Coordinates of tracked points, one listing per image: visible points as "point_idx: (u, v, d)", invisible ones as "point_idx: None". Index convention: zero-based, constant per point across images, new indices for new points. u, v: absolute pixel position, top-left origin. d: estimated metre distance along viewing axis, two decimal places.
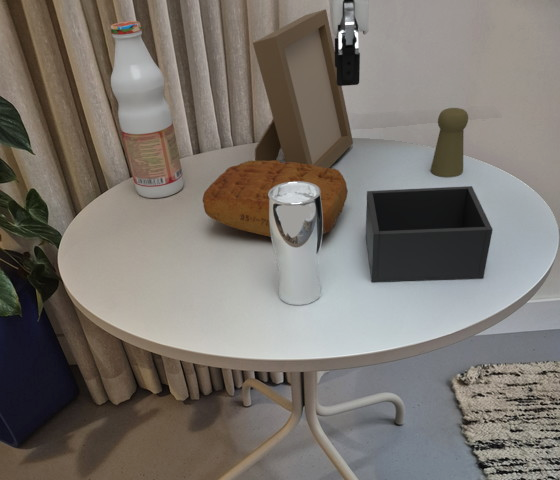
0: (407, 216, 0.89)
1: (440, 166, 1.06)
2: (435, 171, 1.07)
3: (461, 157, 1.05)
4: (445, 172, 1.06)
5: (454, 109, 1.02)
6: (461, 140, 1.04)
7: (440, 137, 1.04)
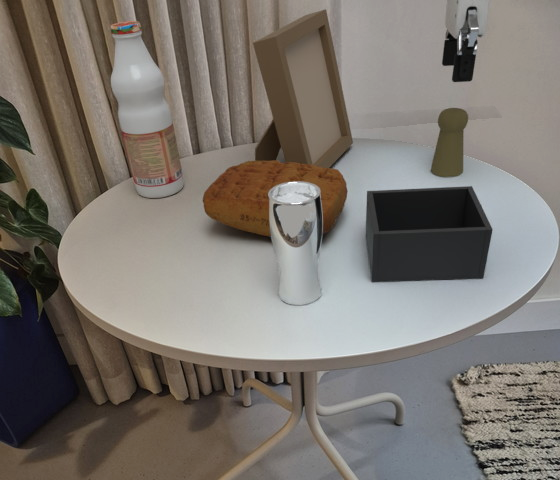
0: (407, 216, 0.89)
1: (440, 166, 1.06)
2: (435, 171, 1.07)
3: (461, 157, 1.05)
4: (445, 172, 1.06)
5: (454, 109, 1.02)
6: (461, 140, 1.04)
7: (440, 137, 1.04)
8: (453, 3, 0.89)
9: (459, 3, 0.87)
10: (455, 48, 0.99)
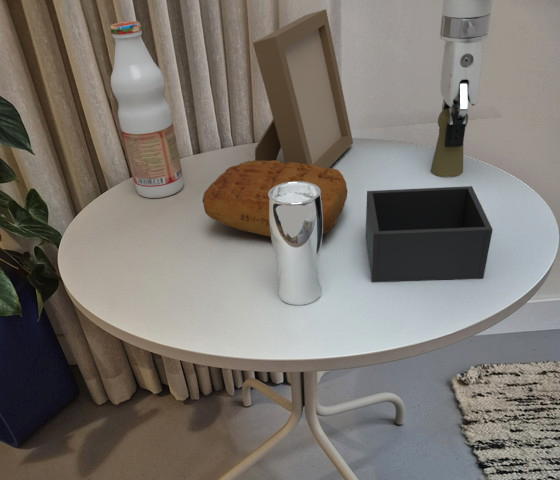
0: (407, 216, 0.89)
1: (440, 166, 1.06)
2: (435, 171, 1.07)
3: (461, 157, 1.05)
4: (445, 172, 1.06)
5: (454, 109, 1.02)
6: None
7: (440, 137, 1.04)
8: (447, 75, 0.96)
9: (452, 76, 0.94)
10: None
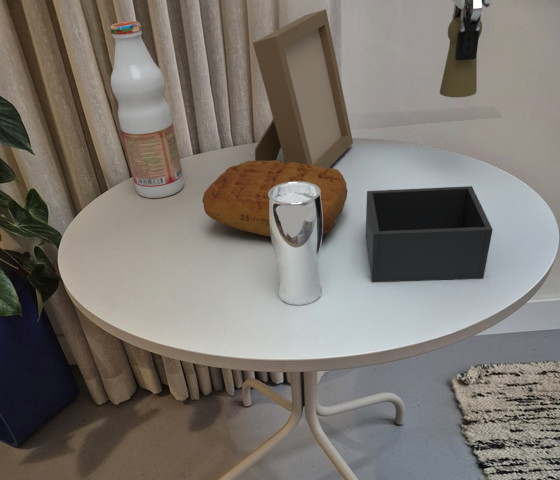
0: (407, 216, 0.89)
1: (451, 84, 0.95)
2: (445, 91, 0.96)
3: (474, 74, 0.94)
4: (456, 91, 0.95)
5: None
6: None
7: (450, 51, 0.93)
8: None
9: None
10: None
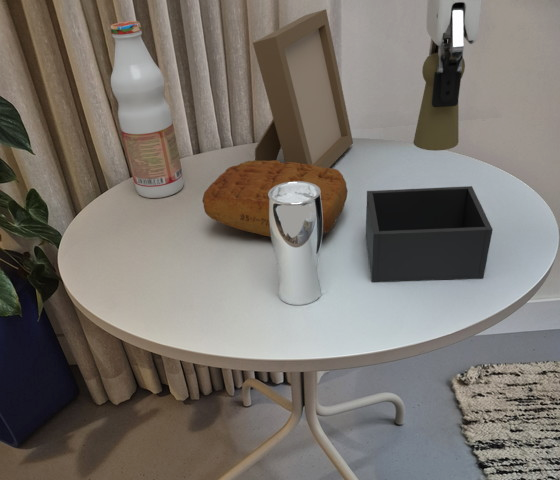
0: (407, 216, 0.89)
1: (427, 135, 0.76)
2: (419, 143, 0.78)
3: (455, 122, 0.76)
4: (433, 143, 0.77)
5: (445, 53, 0.72)
6: None
7: (426, 94, 0.74)
8: None
9: None
10: None
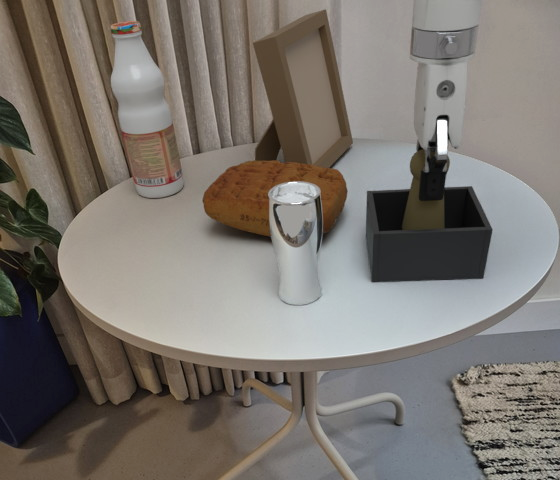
0: None
1: (414, 223, 0.81)
2: (407, 229, 0.82)
3: (441, 212, 0.80)
4: None
5: None
6: None
7: (413, 187, 0.79)
8: (420, 108, 0.70)
9: (426, 111, 0.68)
10: None
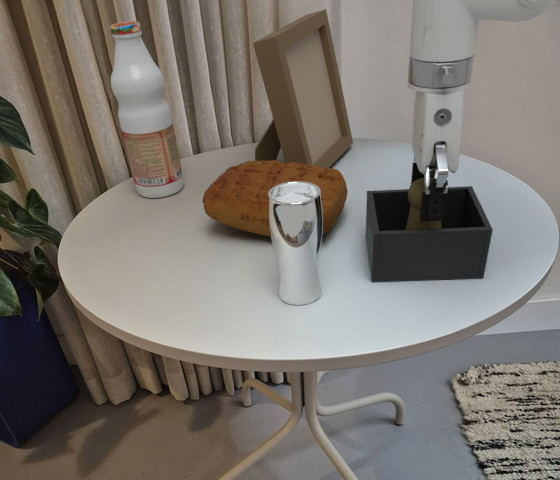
0: (407, 216, 0.89)
1: None
2: None
3: None
4: None
5: None
6: None
7: (411, 215, 0.81)
8: (418, 134, 0.72)
9: (424, 137, 0.70)
10: None
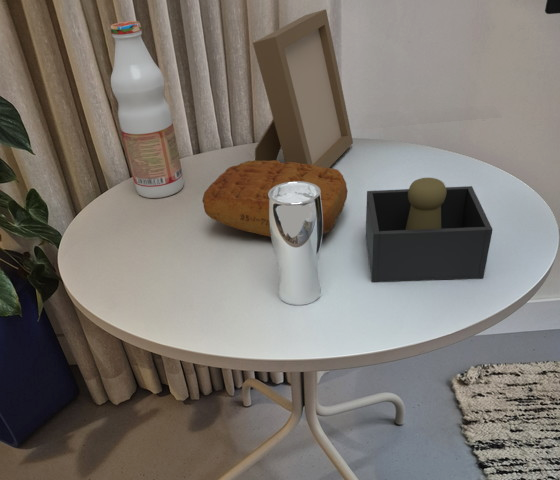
0: (407, 216, 0.89)
1: None
2: None
3: None
4: None
5: (428, 181, 0.79)
6: (438, 218, 0.81)
7: (411, 215, 0.81)
8: None
9: None
10: None
